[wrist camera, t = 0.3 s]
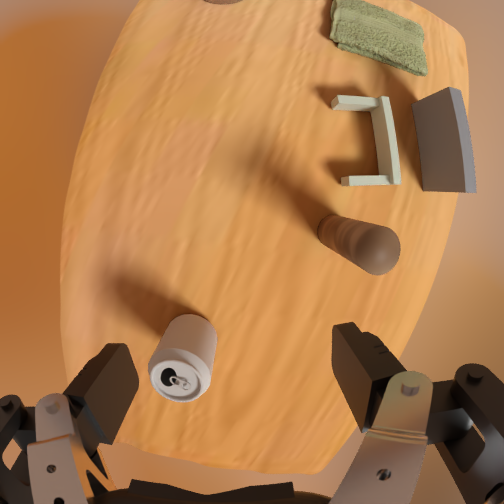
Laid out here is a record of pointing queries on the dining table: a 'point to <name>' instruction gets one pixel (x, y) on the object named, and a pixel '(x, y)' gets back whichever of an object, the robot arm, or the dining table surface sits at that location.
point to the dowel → (361, 243)
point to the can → (184, 359)
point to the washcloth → (378, 35)
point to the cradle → (383, 139)
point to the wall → (444, 142)
